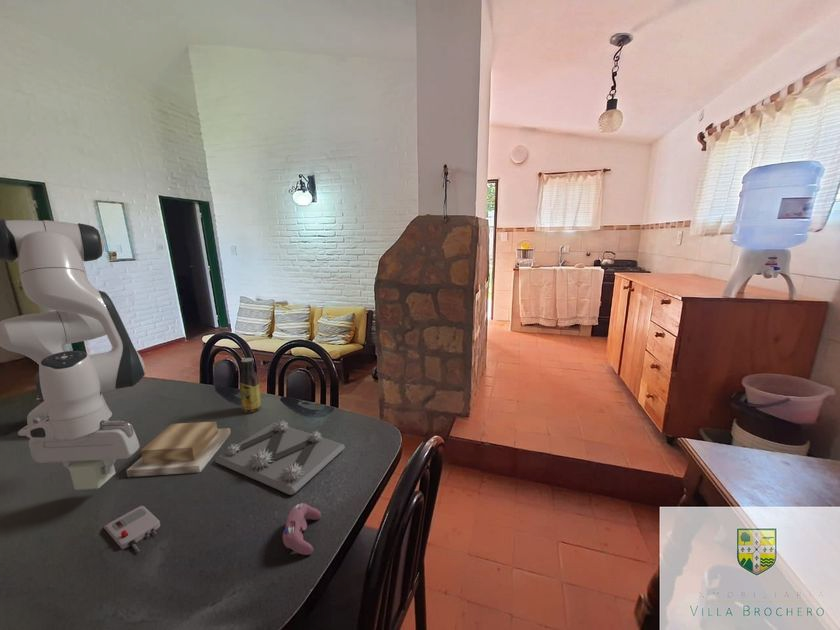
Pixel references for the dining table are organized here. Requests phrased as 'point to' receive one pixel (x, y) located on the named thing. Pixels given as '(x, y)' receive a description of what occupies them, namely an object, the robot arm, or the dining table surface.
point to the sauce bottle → (249, 387)
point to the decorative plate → (281, 456)
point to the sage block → (88, 474)
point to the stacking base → (183, 464)
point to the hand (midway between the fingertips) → (94, 473)
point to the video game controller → (299, 528)
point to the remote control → (132, 527)
